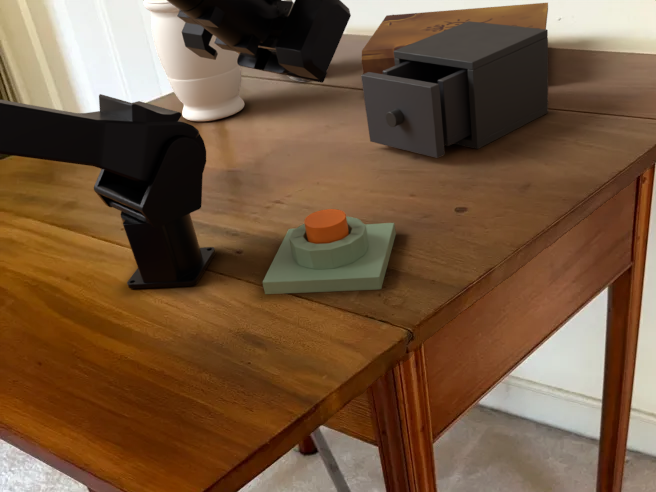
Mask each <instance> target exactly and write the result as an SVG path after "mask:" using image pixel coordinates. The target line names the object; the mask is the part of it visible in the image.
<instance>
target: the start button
mask: <svg viewBox="0 0 656 492" xmlns="http://www.w3.org/2000/svg"><path fill="white" fill-rule="evenodd" d="M346 216H347V214H346V213H345V211H344V210H341V209H336V208H328V209H327V208H326V209H321V210H317V211H314V212H312V213H310V214H308V215H307V216H306V217H305V218H304V222H303V224H305V229H306V234H307V239H308V242H311V243H315V244H323V243H332V242H335V241H338V240H342V239H343V238H345V237H346V236H348V235H349V230H348V224H347V218H346Z"/></svg>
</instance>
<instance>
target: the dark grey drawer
mask: <svg viewBox="0 0 656 492" xmlns="http://www.w3.org/2000/svg"><path fill="white" fill-rule="evenodd" d="M360 77H361V84H362V85H361V86H362V92H363V99H364V106H365V114H366V122H367V128H368V129H367V130H368V135H369V136H368V137H369V141H370V142H371V143H375V144H379V145H383V146H385V147H386V146H387V147H390V148H395V149H399V150H403V151H407V152H411V153H414V154H415V153H416V154H419V155H423V156H427V157H432V158H435V159H439V158H441V157H443V156H444V155H446V151H445V146H446V147H449V146H452V145H453V143H455V142H457V141H459V140H461V139H463V138H465V137H467V136H469V135H471V118H470V102H469V86H468V69H463V68H457V67H450V66H444V65H437V64H431V63H424V62H417V61H411V60H408V61H406V62H403V63H401V64H398V65H396V66H393V67H391V68H389V69H386V70H384V71H383V74H378V73H372V72H367V73H365V74H363V73H362V74H361V75H360Z"/></svg>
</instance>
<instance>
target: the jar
mask: <svg viewBox="0 0 656 492" xmlns="http://www.w3.org/2000/svg"><path fill="white" fill-rule="evenodd" d="M142 1H143V2H142V3H143V6H144V8H145V9H146V10H147V11H150V26H151V33H152V34H151V35H152V39H153V43H154V47H155V51H156V54H157V57H158V60H159V62H160V65H161V67H162V69H163V72H164V73H165V75H166V78H167V81H168V83H169V85H170V88H171V90H172V92H173V93H174V95H175V96H176V98H177V100H179V102H181V103H182V105H183V108H182V111H181V116H182V118H183V119H185V120H188V121H191V122H211V121H218V120H221V119H225V118H228V117H231V116H233V115H236V114H237V113H239V112H241V111H242V110H243V109H244V107H245V105H246V104H245V101H244V99H243V98H242V97H241V96H240V95H239V94H240V90H241V85H242V66H239V65H238V64H237V59H238V56H239V54H238V53H237V52H235V51H230V50H224V49H222V48H220V47H219V46H218V45H216V44H215V43H214V42H215V40H216V36H214V35H213V36H212V38H211V41H210V43H209V45H210V46H211V47H212V48H214V49H215V50H216V51H217V53H218V55H217V57H216V60H213V59H208V58H203V57H200V56H198V55H197V54H195V53H194V52H192V51H191V50H189V49H188V48H187V47H185V43H184V40H183V36H182V30H183V27H184V25H185V22H184V21H183V20H182V19H180V18H179V17H178V16H177V15H178V13H179V11H180V10H179V9H178V8H176V7H175V6H173V5H172V4H171V3H169V2H168V1H167V0H142Z"/></svg>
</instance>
